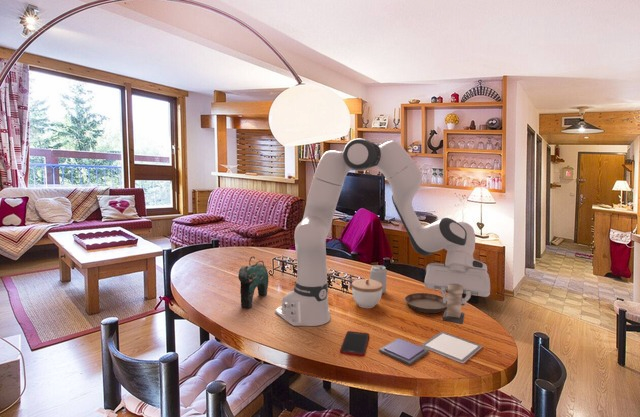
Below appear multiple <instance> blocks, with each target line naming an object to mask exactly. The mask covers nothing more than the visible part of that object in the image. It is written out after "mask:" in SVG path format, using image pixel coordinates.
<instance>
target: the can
mask: <svg viewBox="0 0 640 417" xmlns="http://www.w3.org/2000/svg"><path fill="white" fill-rule="evenodd" d="M387 274H388V270H387V269H386V266H384V265H382V264H381V265H378V264H377V265H375V264H374V265H371V268H370V273H369V279H370V280H375V281H378V282H380V283H382V285H383V287H382V295H384V294H385V293H386V292H387ZM383 293H384V294H383Z"/></svg>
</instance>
